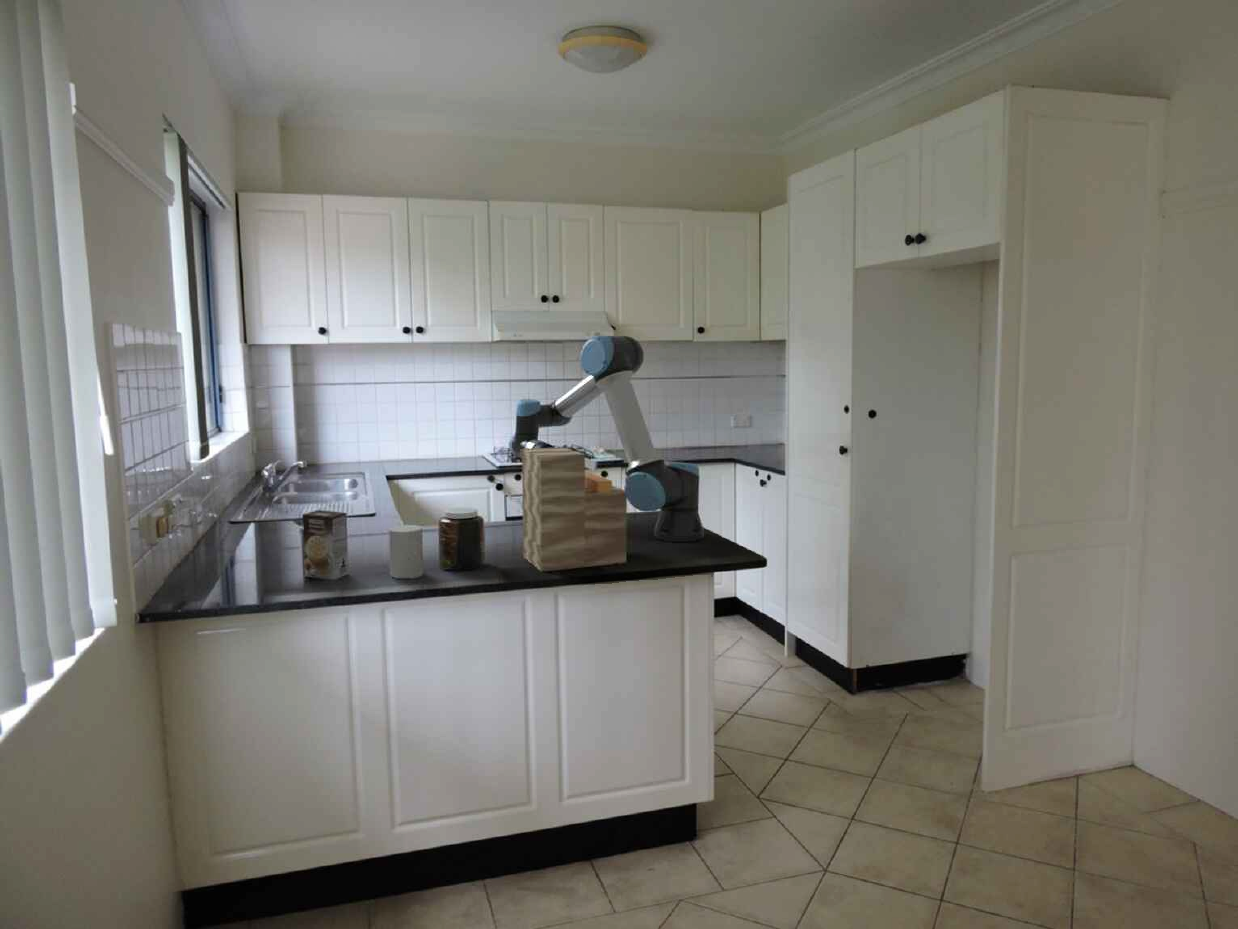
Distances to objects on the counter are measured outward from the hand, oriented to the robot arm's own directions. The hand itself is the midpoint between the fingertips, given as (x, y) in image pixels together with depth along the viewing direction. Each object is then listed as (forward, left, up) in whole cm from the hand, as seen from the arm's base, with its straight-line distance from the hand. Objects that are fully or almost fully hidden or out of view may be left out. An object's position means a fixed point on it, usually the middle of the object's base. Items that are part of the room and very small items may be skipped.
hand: (577, 467), depth 253 cm
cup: (+44, +39, -22) cm, 63 cm away
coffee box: (+64, +39, -22) cm, 78 cm away
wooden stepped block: (+1, +26, -22) cm, 34 cm away
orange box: (-2, +19, -2) cm, 19 cm away
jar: (+31, +31, -22) cm, 49 cm away
